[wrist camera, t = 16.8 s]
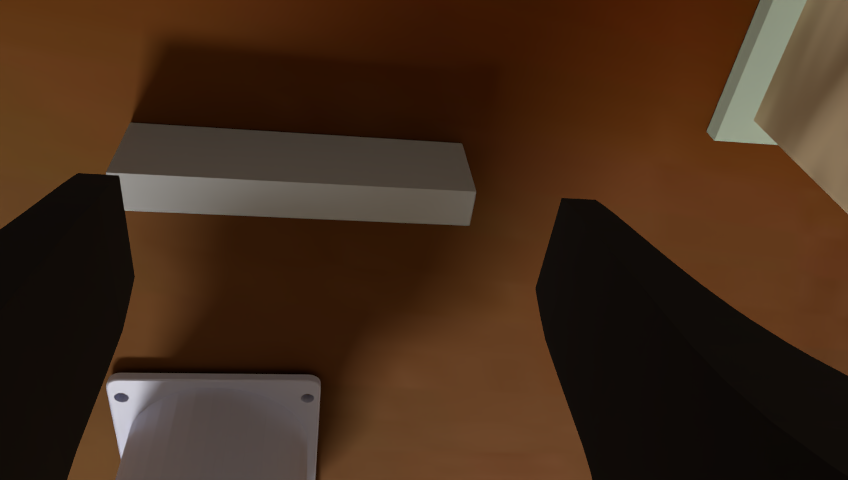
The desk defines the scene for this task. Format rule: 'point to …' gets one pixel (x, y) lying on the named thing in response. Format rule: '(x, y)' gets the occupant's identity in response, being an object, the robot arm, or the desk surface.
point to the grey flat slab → (292, 175)
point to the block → (813, 97)
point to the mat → (754, 72)
